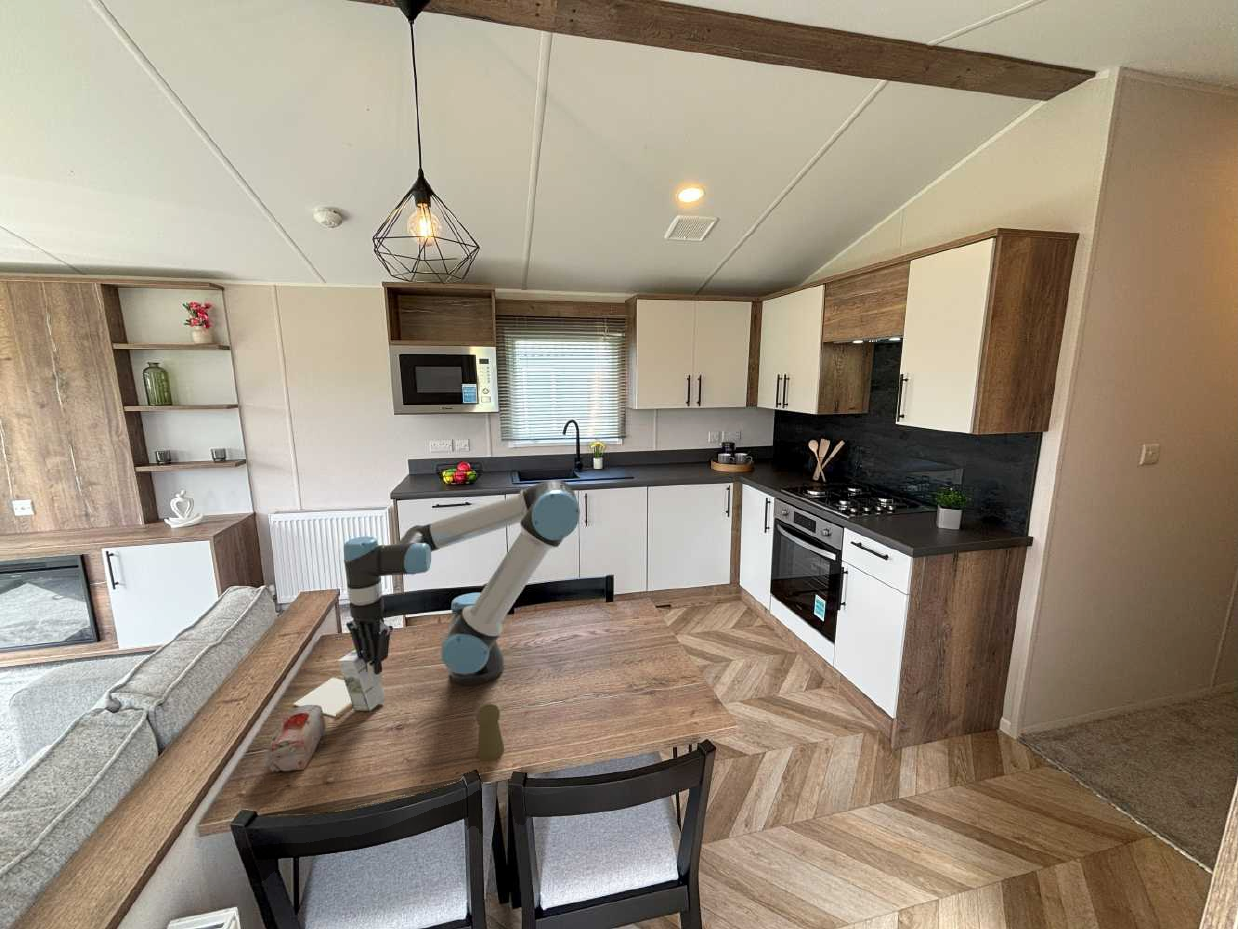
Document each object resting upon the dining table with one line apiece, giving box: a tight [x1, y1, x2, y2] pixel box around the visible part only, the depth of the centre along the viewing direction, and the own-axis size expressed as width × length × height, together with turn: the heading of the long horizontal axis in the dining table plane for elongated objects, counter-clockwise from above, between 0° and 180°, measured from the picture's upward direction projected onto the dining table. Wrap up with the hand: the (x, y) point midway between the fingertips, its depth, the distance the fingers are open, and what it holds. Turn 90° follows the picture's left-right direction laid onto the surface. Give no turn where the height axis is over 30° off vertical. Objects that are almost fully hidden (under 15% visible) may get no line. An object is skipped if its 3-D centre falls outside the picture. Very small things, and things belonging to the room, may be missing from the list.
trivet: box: [292, 677, 354, 719], centre depth 134 cm, size 16×12×1 cm
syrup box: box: [337, 649, 387, 712], centre depth 129 cm, size 6×6×14 cm
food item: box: [266, 705, 327, 773], centre depth 114 cm, size 14×8×10 cm, turn 13°
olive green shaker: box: [475, 703, 505, 762], centre depth 113 cm, size 6×6×11 cm
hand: (375, 683), depth 128 cm, fingers closed
